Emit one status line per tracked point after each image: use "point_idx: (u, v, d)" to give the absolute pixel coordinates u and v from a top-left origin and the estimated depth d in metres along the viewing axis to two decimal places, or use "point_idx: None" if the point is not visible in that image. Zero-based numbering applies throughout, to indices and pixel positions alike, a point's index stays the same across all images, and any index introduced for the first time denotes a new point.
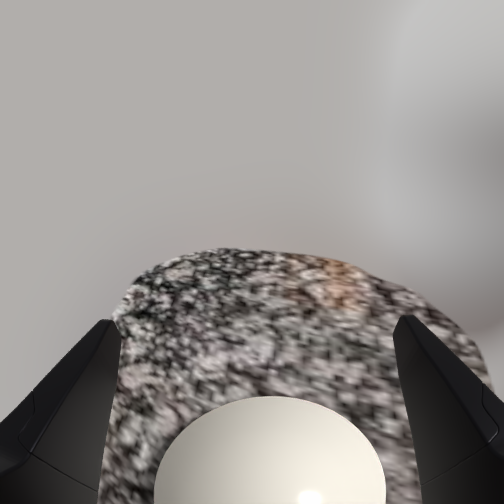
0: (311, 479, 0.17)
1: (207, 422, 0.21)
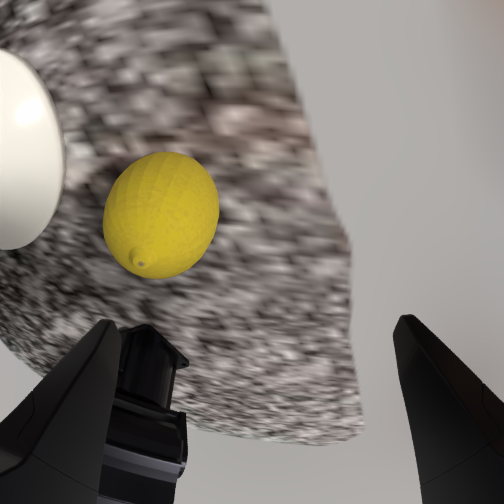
0: None
1: None
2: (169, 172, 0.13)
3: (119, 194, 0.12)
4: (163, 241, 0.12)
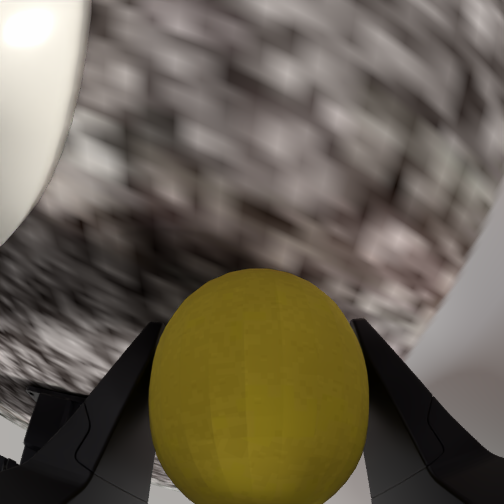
0: None
1: None
2: (354, 384, 0.06)
3: (255, 428, 0.05)
4: None
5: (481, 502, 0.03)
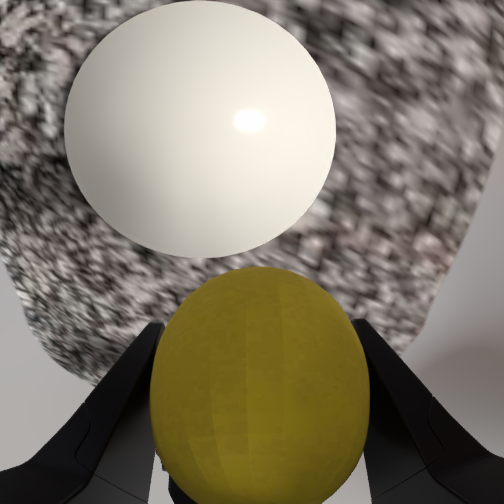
0: (239, 123, 0.16)
1: (99, 58, 0.13)
2: (355, 382, 0.06)
3: (256, 424, 0.05)
4: None
5: (481, 502, 0.03)
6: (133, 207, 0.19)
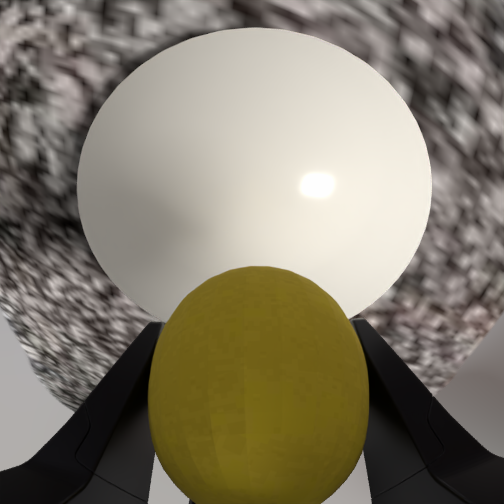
0: (322, 209, 0.13)
1: (128, 99, 0.10)
2: (354, 382, 0.06)
3: (255, 424, 0.05)
4: None
5: (481, 502, 0.03)
6: (172, 292, 0.16)
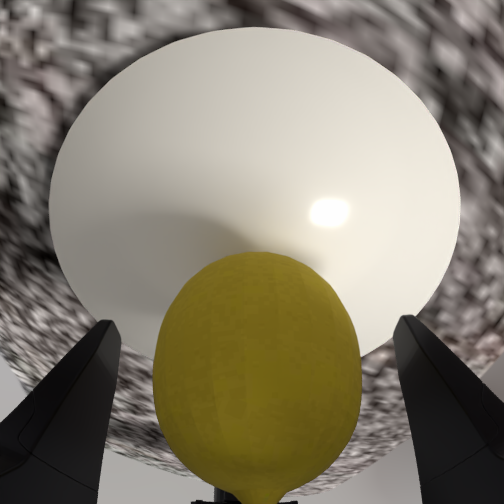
0: (334, 249, 0.11)
1: (99, 120, 0.08)
2: (346, 355, 0.06)
3: (254, 389, 0.05)
4: (310, 480, 0.06)
5: None
6: None
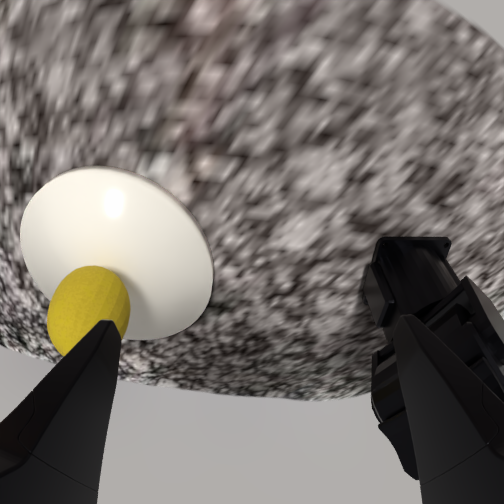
0: (86, 242, 0.21)
1: None
2: (51, 301, 0.17)
3: None
4: (63, 341, 0.16)
5: None
6: (165, 313, 0.25)
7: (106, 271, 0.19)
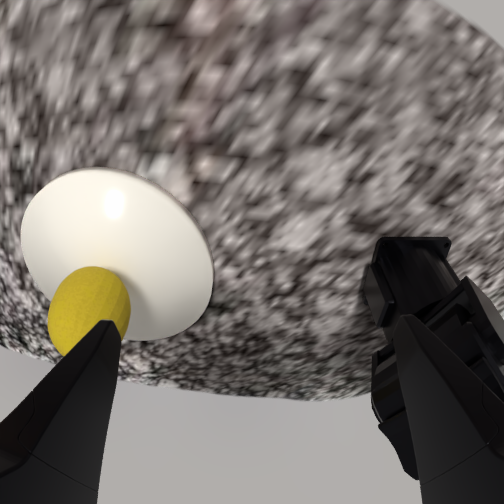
0: (86, 243, 0.21)
1: None
2: (51, 302, 0.17)
3: None
4: (64, 341, 0.16)
5: None
6: (165, 313, 0.25)
7: (106, 272, 0.19)
